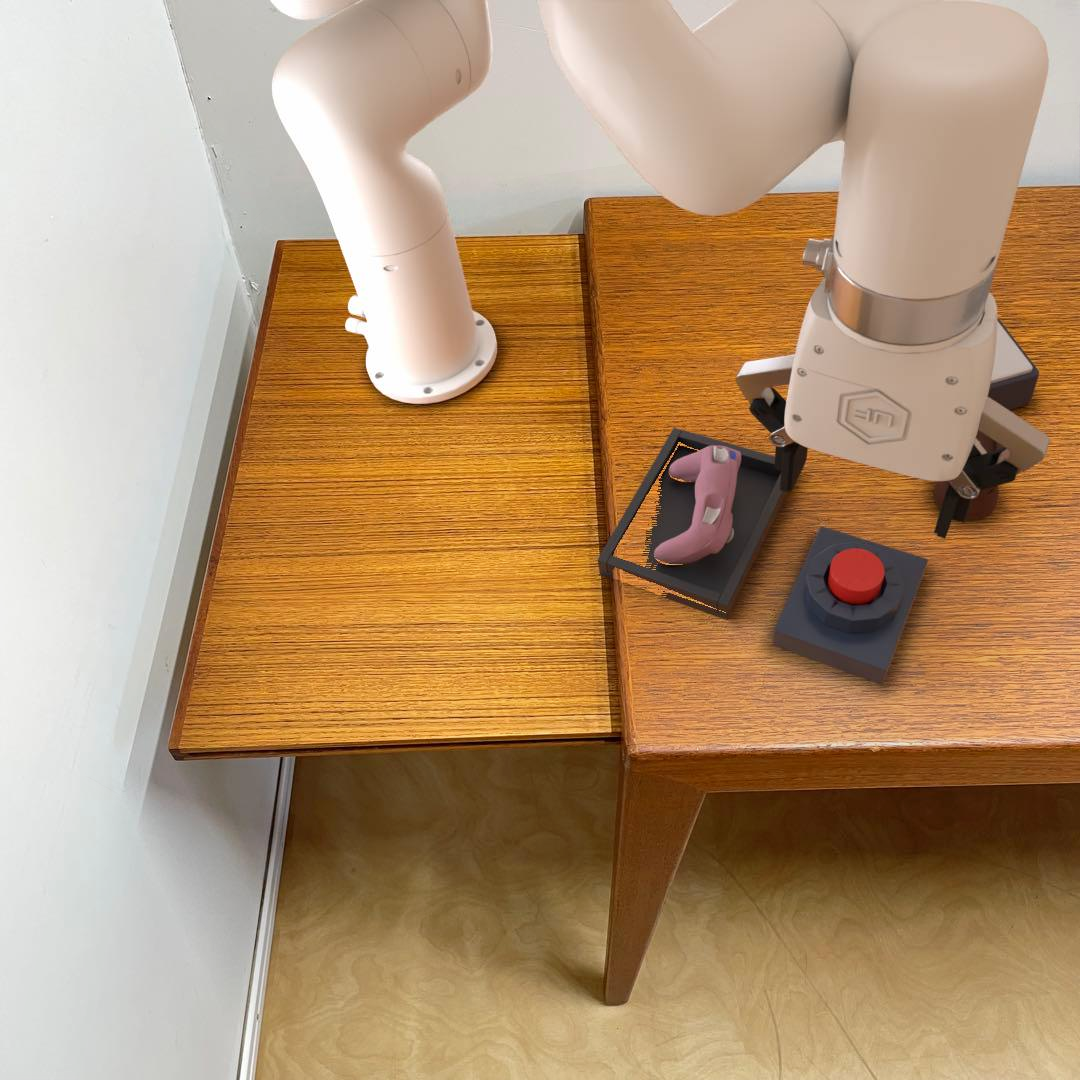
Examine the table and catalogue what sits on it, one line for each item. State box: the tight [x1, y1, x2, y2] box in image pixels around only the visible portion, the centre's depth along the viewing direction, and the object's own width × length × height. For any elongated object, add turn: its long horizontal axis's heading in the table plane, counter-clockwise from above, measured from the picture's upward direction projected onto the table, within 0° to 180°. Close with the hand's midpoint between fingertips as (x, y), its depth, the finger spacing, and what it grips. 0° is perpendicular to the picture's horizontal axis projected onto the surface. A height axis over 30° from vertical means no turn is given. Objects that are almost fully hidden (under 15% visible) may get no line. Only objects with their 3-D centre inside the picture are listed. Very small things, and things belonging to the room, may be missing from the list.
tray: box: [597, 427, 790, 621], centre depth 78 cm, size 11×15×2 cm
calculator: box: [988, 316, 1040, 411], centre depth 83 cm, size 11×4×15 cm
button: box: [828, 549, 885, 605], centre depth 69 cm, size 4×4×2 cm
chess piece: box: [932, 400, 1005, 522], centre depth 73 cm, size 5×5×10 cm
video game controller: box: [654, 445, 741, 564], centre depth 76 cm, size 10×5×7 cm, turn 168°
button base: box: [772, 525, 929, 686], centre depth 71 cm, size 8×10×4 cm
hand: (867, 497), depth 62 cm, fingers open, 9 cm apart
